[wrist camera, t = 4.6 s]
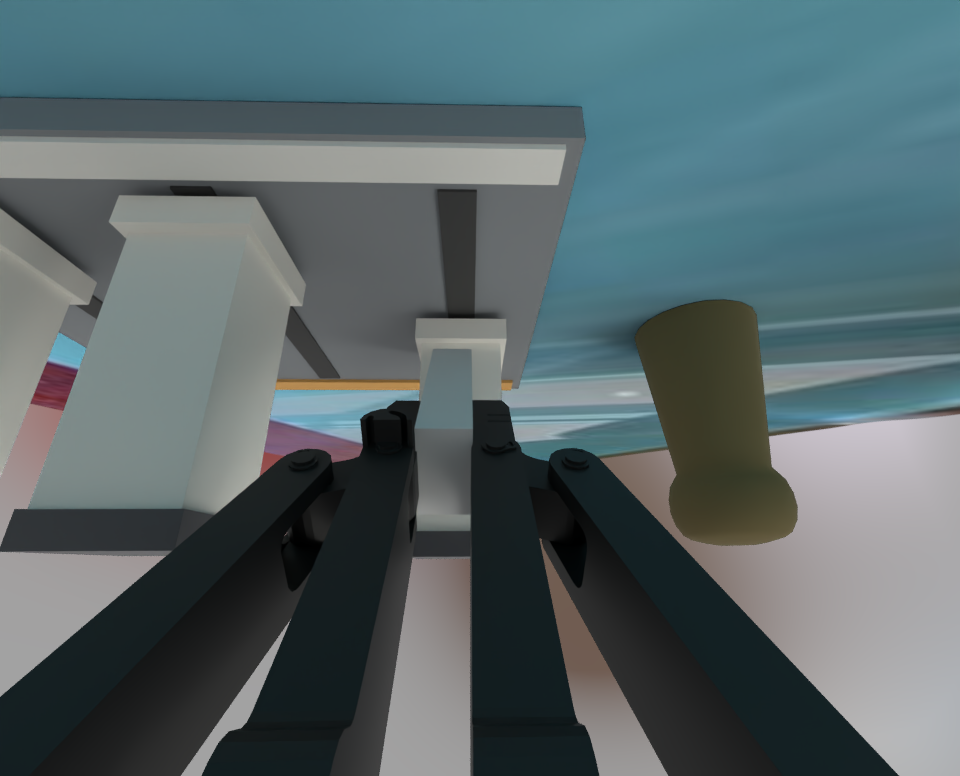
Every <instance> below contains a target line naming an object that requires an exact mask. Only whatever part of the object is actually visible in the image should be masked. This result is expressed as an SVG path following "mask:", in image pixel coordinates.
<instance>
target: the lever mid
mask: <svg viewBox="0 0 960 776" xmlns="http://www.w3.org/2000/svg"><path fill="white" fill-rule="evenodd" d="M109 223H110V224H111V225H112V226H114V227H115V228H116V229H117V230H118V231H119V232H120V233H121V234H122V235H123V236H124V237H125V238H126V242H125V244H124V247H123V250H122V252H121V255H120V258H119V261H118V263H117V266H116V269H115V272H114V274H113V277H112V280H111V283H110V285H109V288H108V291H107V294H106V296H105V299H104V302H103V304H102V307H101V310H100V313H99V315H98V318H97V321H96V324H95V326H94V329H93V332H92V335H91V337H90V340H89V343H88V345H87V348H86V351H85V354H84V356H83V359H82V362H81V365H80V367H79V370H78V373H77V376H76V378H75V381H74V384H73V386H72V389H71V392H70V395H69V397H68V400H67V403H66V406H65V408H64V411H63V414H62V417H61V419H60V422H59V425H58V427H57V431H56V433H55V436H54V439H53V441H52V444H51V447H50V449H49V452H48V455H47V458H46V460H45V463H44V466H43V469H42V471H41V474H40V477H39V479H38V482H37V485H36V488H35V490H34V493H33V496H32V499H31V501H30V504H29V507H28V509H14V512H13V515H12V517H11V520H10V522H9V525H8V528H7V530H6V533H5V536H4V538H3V541H2V544H1V546H0V552H26V553H55V554H56V553H57V554H84V555H113V556H167V555H168V554H169V553H170V552H171V551H173V550H174V549H175V548H176V547H177V546H179V545H180V544H181V543H182V542H183V541H184V540H186V539H187V538H188V537H189V536H190V535H192V534H193V533H194V532H195V531H196V530H197V529H199V528H200V527H201V526H202V525H203V524H204V523H206V522H207V521H208V520H209V519H210V518H212V517H213V516H214V515H215V514H216V513H217V512H219V511H220V510H221V509H222V508H223V507H224V506H226V505H227V504H228V503H229V502H230V501H232V500H233V499H234V498H235V497H236V496H237V495H239V494H240V493H241V492H242V491H243V490H245V489H246V488H247V487H248V486H249V485H250V484H252V483H253V482H254V481H255V480H256V479H257V478H259V475H260V470H261V464H262V459H263V453H264V448H265V442H266V437H267V431H268V426H269V420H270V415H271V409H272V404H273V398H274V392H275V387H276V381H277V376H278V370H279V365H280V359H281V354H282V348H283V343H284V337H285V332H286V326H287V321H288V315H289V310H290V306H302V305H303V299H304V293H305V287H306V283H305V282H304V280H303V278H302V276H301V275H300V273H299V271H298V270H297V268H296V266H295V264H294V263H293V261H292V259H291V257H290V256H289V254H288V252H287V250H286V249H285V247H284V245H283V244H282V242H281V240H280V238H279V237H278V235H277V233H276V231H275V230H274V228H273V226H272V225H271V223H270V221H269V219H268V218H267V216H266V214H265V212H264V211H263V209H262V207H261V206H260V204H259V202H258V200H257V199H256V197H216V196H134V195H119V197H118V199H117V202H116V205H115V207H114V210H113V212H112V215H111V217H110V220H109Z"/></svg>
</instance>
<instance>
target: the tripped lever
mask: <svg viewBox="0 0 960 776" xmlns="http://www.w3.org/2000/svg"><path fill="white" fill-rule="evenodd" d="M415 340H416V345H417V349H418V353H419V357H420V361H421V369H420V389H419V401H421V398H422V394H423V390H424V386H425V381H426V377H427V373H428V369H429V365H430V360H431V356H432V352H433V349H472V400H502V391H501V371H502V365H503V359H504V352H505V346H506V340H507V333H506V319H446V318H416V329H415ZM416 515H417V531H416V537H415V544H414V550H413V557H412V558H416V559H470V518H471V515H418V505H417V511H416Z"/></svg>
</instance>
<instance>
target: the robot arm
mask: <svg viewBox="0 0 960 776" xmlns="http://www.w3.org/2000/svg"><path fill="white" fill-rule="evenodd" d="M360 421H361V431H362V442H363V449H362V451H361V454H360V456H359V457H356V458H354V459H350V460H346V461H340V462H334V463H332V461H331V455H330V454H328V453H327V452H326V451H323V450H319V449H304V450H303V449H302V450H298V451H296V452H293V453H290V454H288V455H286V456H284V457H283V458H281V459H280V460H279V461H277V462H276V463H275V464H274V465H273V466H272V467H270V468H269V469H268V470H267V471H266V472H265V473H263V474H262V475H261V476H260V477H259V478H257V479H256V480H255V481H254V482H253V483H252V484H250V485H249V486H248V487H247V488H246V489H245V490H243V491H242V492H241V493H240V494H239V495H237V496H236V497H235V498H234V499H233V500H232V501H230V502H229V503H228V504H227V505H226V506H224V507H223V508H222V509H221V510H220V511H219V512H217V513H216V514H215V515H214V516H213V517H212V518H210V519H209V520H208V521H207V522H206V523H204V524H203V525H202V526H201V527H200V528H199V529H197V530H196V531H195V532H194V533H193V534H192V535H190V536H189V537H188V538H187V539H186V540H184V541H183V542H182V543H181V544H180V545H179V546H177V547H176V548H175V549H174V550H173V551H171V552H170V553H169V554H168V555H167V556H166V557H165V558H163V559H162V560H161V561H160V562H159V563H157V564H156V565H155V566H154V567H153V568H151V569H150V570H149V571H148V572H147V573H146V574H144V575H143V576H142V577H141V578H140V579H139V580H137V581H136V582H135V583H134V584H133V585H132V586H130V587H129V588H128V589H127V590H126V591H124V592H123V593H122V594H121V595H120V596H118V597H117V598H116V599H115V600H114V601H113V602H111V603H110V604H109V605H108V606H107V607H106V608H104V609H103V610H102V611H101V612H100V613H98V614H97V615H96V616H95V617H94V618H93V619H91V620H90V621H89V622H88V623H87V624H86V625H84V626H83V627H82V628H81V629H80V630H79V631H78V632H76V633H75V634H74V635H73V636H71V637H70V638H69V639H68V640H67V641H66V642H64V643H63V644H62V645H61V646H60V647H58V648H57V649H56V650H55V651H54V652H53V653H51V654H50V655H49V656H48V657H47V658H46V659H44V660H43V661H42V662H41V663H40V664H38V665H37V666H36V667H35V668H34V669H33V670H31V671H30V672H29V673H28V674H27V675H25V676H24V677H23V678H22V679H21V680H20V681H18V682H17V683H16V684H15V685H14V686H12V687H11V688H10V689H9V690H8V691H7V692H5V693H4V694H3V695H2V696H1V697H0V776H181V774H182V773H183V772H184V770H185V769H186V767H187V766H188V764H189V763H190V762H191V760H192V759H193V757H194V756H195V755H196V753H197V752H198V750H199V749H200V747H201V746H202V745H203V743H204V742H205V740H206V739H207V737H208V736H209V735H210V733H211V732H212V730H213V729H214V727H215V726H216V725H217V723H218V722H219V720H220V719H221V718H222V716H223V715H224V713H225V712H226V710H227V709H228V708H229V706H230V705H231V703H232V702H233V700H234V699H235V697H236V696H237V695H238V693H239V692H240V690H241V689H242V688H243V686H244V685H245V683H246V682H247V681H248V679H249V678H250V676H251V675H252V673H253V672H254V671H255V669H256V668H257V666H258V665H259V663H260V662H261V661H262V659H263V658H264V656H265V655H266V653H267V652H268V651H269V649H270V648H271V646H272V645H273V644H274V642H275V641H276V639H277V638H278V636H279V635H280V633H281V632H282V631H283V629H284V628H285V626H286V625H287V624H288V622H289V621H290V619H291V621H290V623H289V625H288V628H287V630H286V633H285V635H284V637H283V640H282V642H281V644H280V647H279V649H278V652H277V654H276V656H275V659H274V661H273V664H272V666H271V668H270V671H269V673H268V675H267V678H266V680H265V683H264V685H263V687H262V690H261V692H260V695H259V697H258V699H257V702H256V704H255V707H254V709H253V711H252V713H251V715H250V717H249V719H248V721H247V723H246V724H245V725H244V726H243V727H242V728H241V729H237V730H233V731H229V732H228V733H227V734H226V735H225V736H224V737H223V738H222V740H221V741H220V742H219V743H218V745H217V747H216V748H215V750H214V752H213V754H212V756H211V758H210V759H209V761H208V763H207V766H206V767H205V770H204V772H203V774H202V776H379V772H380V765H381V759H382V751H383V746H384V739H385V732H386V726H387V720H388V712H389V706H390V700H391V694H392V687H393V680H394V673H395V668H396V660H397V655H398V648H399V641H400V635H401V628H402V622H403V615H404V609H405V602H406V596H407V589H408V583H409V576H410V570H411V563H412V557H413V550H414V544H415V537H416V531H417V515H416V511H417V505H418V515H471V518H470V564H471V565H470V568H471V569H470V570H471V571H470V576H471V577H470V578H471V579H470V581H471V582H470V586H471V587H470V595H471V597H470V602H471V603H470V604H471V605H470V610H471V611H470V615H471V616H470V617H471V619H470V621H471V624H470V630H471V631H470V632H471V633H470V640H471V642H470V645H471V647H470V650H471V652H470V653H471V657H470V658H471V659H470V661H471V663H470V665H471V666H470V668H471V670H470V671H471V673H470V674H471V676H470V682H471V685H470V688H471V689H470V692H471V693H470V694H471V697H470V698H471V699H470V701H471V702H470V704H471V705H470V708H471V710H470V711H471V716H470V717H471V718H470V721H471V723H470V724H471V726H470V728H471V729H470V730H471V776H599V772H598V768H597V763H596V759H595V754H594V751H593V747H592V743H591V740H590V737H589V734H588V732H587V730H586V727H585V726H584V725H582V724H580V723H578V721H577V718H576V715H575V712H574V707H573V703H572V698H571V693H570V688H569V683H568V678H567V674H566V668H565V664H564V658H563V654H562V648H561V643H560V639H559V634H558V629H557V624H556V619H555V615H554V609H553V604H552V599H551V594H550V589H549V584H548V579H547V575H546V570H545V565H544V560H543V555H542V550H541V545H540V540H539V538H541V539H542V544H543V547H544V549H545V551H546V553H547V555H548V557H549V559H550V560H551V562H552V564H553V566H554V568H555V569H556V571H557V573H558V575H559V577H560V579H561V580H562V582H563V584H564V586H565V588H566V590H567V591H568V593H569V595H570V597H571V599H572V600H573V602H574V604H575V606H576V608H577V609H578V612H579V613H580V615H581V617H582V619H583V621H584V623H585V624H586V626H587V628H588V630H589V632H590V633H591V635H592V637H593V639H594V641H595V643H596V644H597V646H598V648H599V650H600V652H601V654H602V655H603V657H604V659H605V661H606V662H607V664H608V666H609V668H610V670H611V672H612V674H613V675H614V677H615V679H616V681H617V683H618V685H619V686H620V688H621V690H622V692H623V694H624V696H625V697H626V699H627V701H628V703H629V705H630V707H631V708H632V710H633V712H634V714H635V716H636V717H637V719H638V721H639V723H640V725H641V726H642V728H643V730H644V732H645V734H646V736H647V738H648V739H649V741H650V743H651V745H652V747H653V748H654V750H655V752H656V754H657V756H658V758H659V760H660V761H661V763H662V765H663V767H664V769H665V771H666V772H667V774H668V776H899V775H898V774H897V773H896V772H895V771H894V770H893V769H892V768H891V767H890V766H889V765H888V764H887V763H886V762H885V760H884V759H883V758H882V757H881V756H880V755H879V754H878V753H877V752H876V751H875V750H874V749H873V748H872V747H871V746H870V745H869V744H868V743H867V742H866V740H865V739H864V738H863V737H862V736H861V735H860V734H859V733H858V732H857V731H856V730H855V729H854V728H853V727H852V726H851V725H850V724H849V722H848V721H847V720H846V719H845V718H844V717H843V716H842V715H841V714H840V713H839V712H838V711H837V710H836V709H835V708H834V707H833V705H832V704H831V703H830V702H829V701H828V700H827V699H826V698H825V697H824V696H823V695H822V694H821V693H820V692H819V691H818V690H817V689H816V687H815V686H814V685H813V684H812V683H811V682H810V681H809V680H808V679H807V678H806V677H805V676H804V675H803V674H802V673H801V672H800V671H799V669H798V668H797V667H796V666H795V665H794V664H793V663H792V662H791V661H790V660H789V659H788V658H787V657H786V656H785V655H784V654H783V653H782V652H781V650H780V649H779V648H778V647H777V646H776V645H775V644H774V643H773V642H772V641H771V640H770V639H769V638H768V637H767V636H766V635H765V634H764V632H763V631H762V630H761V629H760V628H759V627H758V626H757V625H756V624H755V623H754V622H753V621H752V620H751V619H750V618H749V617H748V616H747V614H746V613H745V612H744V611H743V610H742V609H741V608H740V607H739V606H738V605H737V604H736V603H735V602H734V601H733V600H732V599H731V598H730V596H728V594H727V593H726V592H725V591H724V590H723V589H722V588H721V587H720V586H719V585H718V584H717V583H716V582H715V581H714V580H713V579H712V577H710V576H709V574H708V573H707V572H706V571H705V570H704V569H703V568H702V567H701V566H700V565H699V564H698V563H697V562H696V561H695V559H694V558H693V557H692V556H691V555H690V554H689V553H688V552H687V551H686V550H685V549H684V548H683V547H682V546H681V545H680V544H679V543H678V542H677V540H676V539H675V538H674V537H673V536H672V535H671V534H670V533H669V532H668V531H667V530H666V529H665V528H664V527H663V526H662V525H661V524H660V522H659V521H658V520H657V519H656V518H655V517H654V516H653V515H652V514H651V513H650V512H649V511H648V510H647V509H646V508H645V507H644V506H643V504H641V502H640V501H639V500H638V499H637V498H636V497H635V496H634V495H633V494H632V493H631V492H630V491H629V490H628V489H627V488H626V486H624V484H623V483H622V482H621V481H620V480H619V479H618V478H617V477H616V476H615V475H614V474H613V473H612V472H611V471H610V470H609V469H608V467H607V466H606V465H605V464H604V463H603V462H602V461H601V460H600V459H599V458H598V457H596V456H595V455H594V454H592V453H590V452H587V451H585V450H582V449H577V448H567V449H561V450H557V451H555V452H554V453H552V454H551V456H550V459H549V461H544V460H539V459H535V458H532V457H529V456H527V455H525V454H524V453H522V451H521V447H520V445H519V444H518V442H516V441H515V437H514V432H513V427H512V422H511V416H510V411H509V407H508V406H507V405H506V404H505V403H504V402H503V401H502V400H472V349H433V352H432V356H431V360H430V365H429V369H428V373H427V377H426V381H425V386H424V390H423V394H422V398H421V401H395V402H394V403H393V404H391V405H390V406H389V407H388V408H387V409H380V410H376V411H372V412H370V413H368V414H366V415H364V416H363V417H362V418H361V419H360ZM286 533H287V534H286ZM285 534H286V535H285Z"/></svg>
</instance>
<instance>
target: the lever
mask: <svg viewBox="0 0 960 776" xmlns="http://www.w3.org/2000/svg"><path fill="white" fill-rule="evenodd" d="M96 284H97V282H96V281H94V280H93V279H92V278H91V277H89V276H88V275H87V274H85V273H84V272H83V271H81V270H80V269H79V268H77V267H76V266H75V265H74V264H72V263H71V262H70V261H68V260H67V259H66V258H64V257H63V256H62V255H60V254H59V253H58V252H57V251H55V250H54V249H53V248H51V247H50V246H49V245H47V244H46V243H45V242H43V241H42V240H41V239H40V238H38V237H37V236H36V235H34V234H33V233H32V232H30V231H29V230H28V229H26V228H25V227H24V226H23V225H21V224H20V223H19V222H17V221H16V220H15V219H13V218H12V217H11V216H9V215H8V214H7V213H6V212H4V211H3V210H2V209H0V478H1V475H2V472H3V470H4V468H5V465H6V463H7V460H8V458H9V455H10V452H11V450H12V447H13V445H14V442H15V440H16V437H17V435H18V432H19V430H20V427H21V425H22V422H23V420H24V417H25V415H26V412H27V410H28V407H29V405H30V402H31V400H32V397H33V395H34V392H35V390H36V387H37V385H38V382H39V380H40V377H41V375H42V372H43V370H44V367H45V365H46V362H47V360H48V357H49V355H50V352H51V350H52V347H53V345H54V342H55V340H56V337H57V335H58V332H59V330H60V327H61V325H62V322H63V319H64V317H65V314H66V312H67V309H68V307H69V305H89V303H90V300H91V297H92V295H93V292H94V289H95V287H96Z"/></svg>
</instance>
